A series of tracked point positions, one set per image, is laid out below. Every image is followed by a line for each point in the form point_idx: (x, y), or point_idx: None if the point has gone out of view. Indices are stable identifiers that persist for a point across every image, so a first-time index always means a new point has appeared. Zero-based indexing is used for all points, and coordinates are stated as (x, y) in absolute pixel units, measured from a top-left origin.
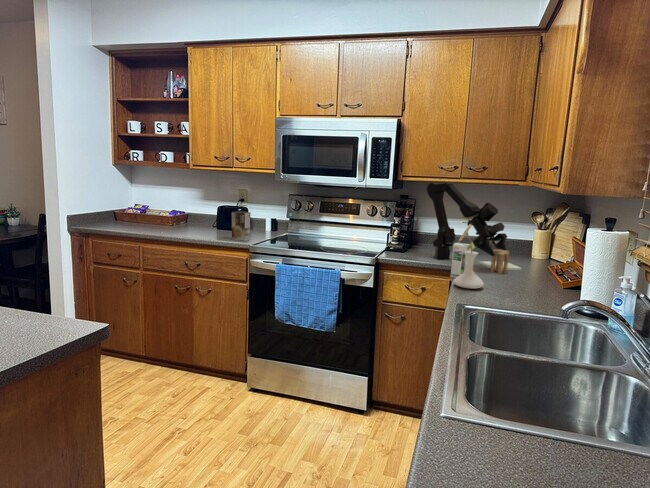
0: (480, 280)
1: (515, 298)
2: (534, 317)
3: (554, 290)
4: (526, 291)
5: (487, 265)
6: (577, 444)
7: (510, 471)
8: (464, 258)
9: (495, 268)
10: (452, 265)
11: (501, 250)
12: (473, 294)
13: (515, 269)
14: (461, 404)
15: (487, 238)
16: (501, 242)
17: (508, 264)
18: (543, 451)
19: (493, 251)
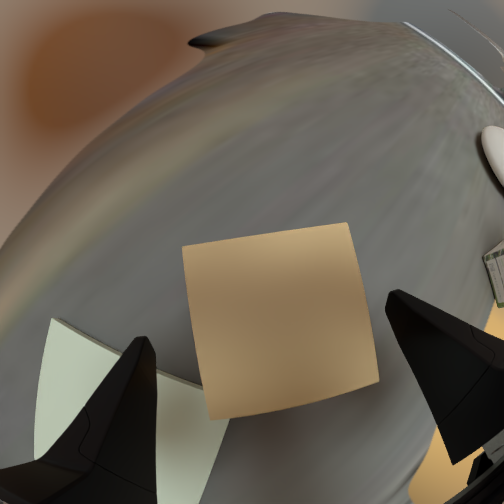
0: (497, 127)
1: (428, 67)
2: (433, 37)
3: (271, 42)
4: (373, 68)
5: (211, 469)
6: (466, 22)
7: (487, 36)
8: None
9: None
10: None
11: (264, 328)
12: None
13: (86, 335)
14: (501, 53)
15: (501, 497)
16: (97, 492)
17: (57, 418)
18: (477, 30)
19: (368, 365)
